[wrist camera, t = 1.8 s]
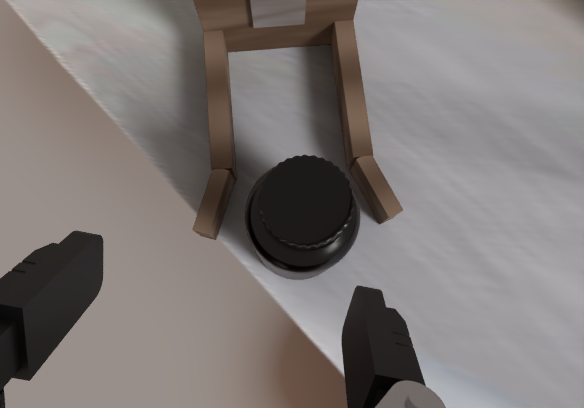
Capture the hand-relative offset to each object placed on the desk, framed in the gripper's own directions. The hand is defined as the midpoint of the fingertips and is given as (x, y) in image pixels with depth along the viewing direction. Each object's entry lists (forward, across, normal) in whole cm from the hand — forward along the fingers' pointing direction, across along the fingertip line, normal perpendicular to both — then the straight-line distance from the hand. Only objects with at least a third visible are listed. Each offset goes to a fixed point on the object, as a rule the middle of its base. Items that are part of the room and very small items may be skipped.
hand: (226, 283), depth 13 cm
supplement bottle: (+18, -3, +7) cm, 19 cm away
